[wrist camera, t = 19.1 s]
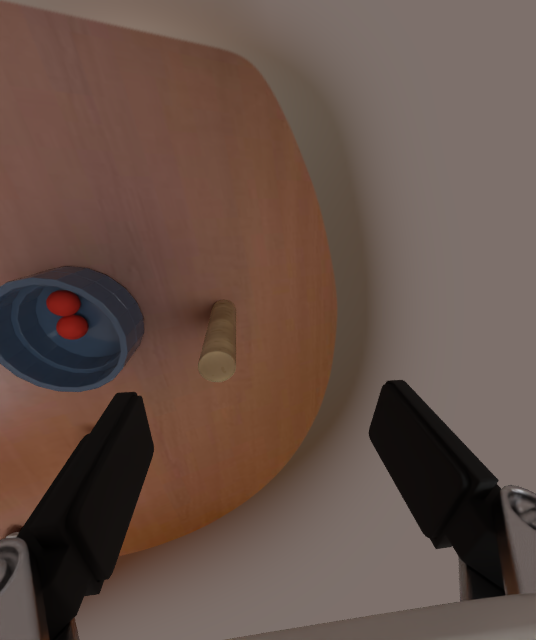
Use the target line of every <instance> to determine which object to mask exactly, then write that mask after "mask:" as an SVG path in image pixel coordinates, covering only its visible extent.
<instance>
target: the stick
mask: <svg viewBox="0 0 536 640" xmlns="http://www.w3.org/2000/svg"><path fill="white" fill-rule="evenodd" d="M235 369H236V308H235V306H234V304H233V303H231V302H230V301H227V300H220V301H218V302H216V303H215V304H214V305H213V307H212V311H211V315H210V319H209V323H208V327H207V331H206V335H205V339H204V343H203V347H202V351H201V355H200V359H199V363H198V370H199V372H200V374H201V376H202V377H204V378H205V379H206V380H209V381H212V382H222V381H225V380H227V379H229V378H230V377H231V376H232V375H233V374H234V372H235Z"/></svg>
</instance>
